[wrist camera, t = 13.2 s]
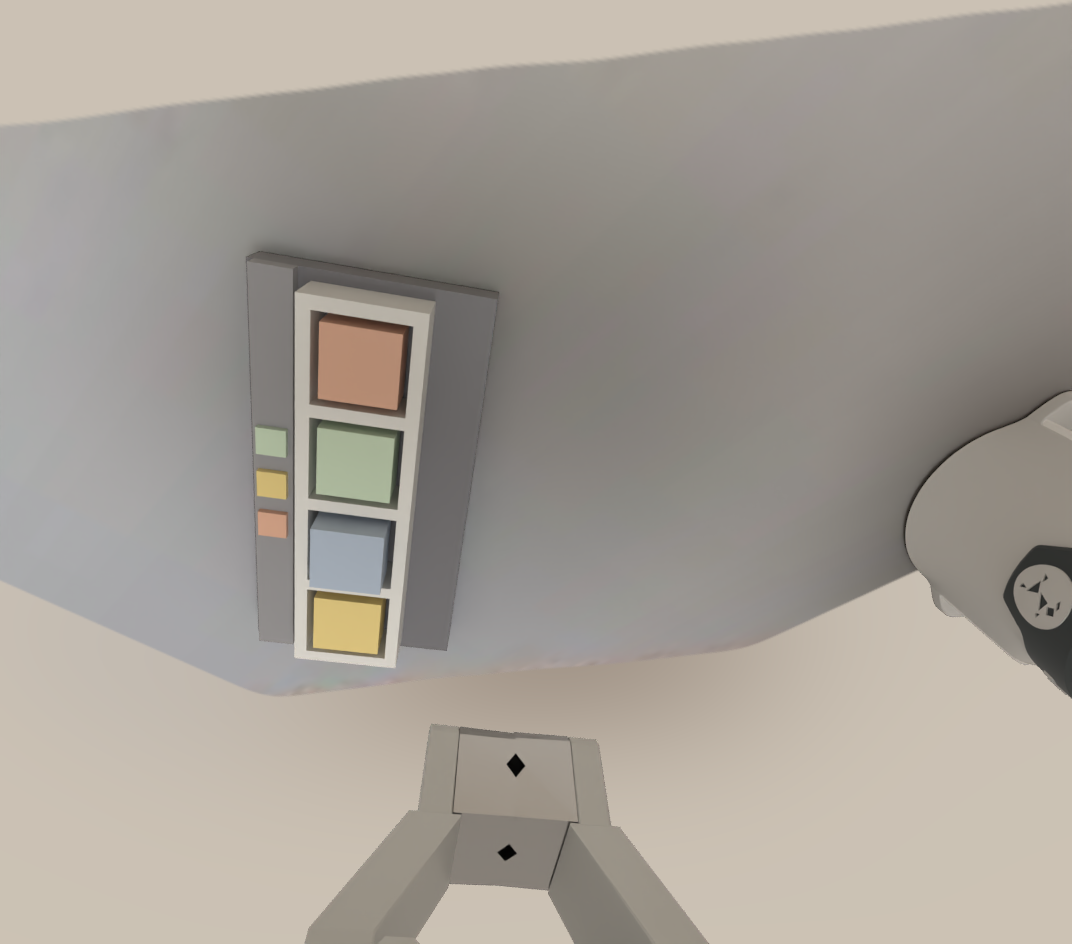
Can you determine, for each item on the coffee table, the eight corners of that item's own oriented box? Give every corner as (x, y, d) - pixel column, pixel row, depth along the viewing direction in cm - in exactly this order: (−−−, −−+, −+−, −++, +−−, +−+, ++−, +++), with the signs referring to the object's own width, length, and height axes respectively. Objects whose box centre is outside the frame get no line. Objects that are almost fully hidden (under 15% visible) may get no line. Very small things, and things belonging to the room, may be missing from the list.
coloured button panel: (498, 292, 38) (497, 312, 34) (449, 632, 50) (443, 680, 46) (259, 251, 37) (224, 266, 32) (267, 612, 49) (243, 659, 44)
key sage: (401, 421, 39) (394, 438, 37) (396, 483, 41) (389, 503, 39) (328, 411, 38) (317, 427, 36) (326, 474, 40) (315, 493, 38)
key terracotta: (409, 323, 36) (402, 334, 34) (403, 394, 38) (396, 410, 36) (331, 310, 36) (319, 321, 33) (329, 383, 38) (317, 398, 35)
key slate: (391, 516, 41) (384, 538, 38) (386, 571, 43) (379, 595, 40) (321, 507, 40) (310, 528, 38) (320, 563, 42) (309, 586, 40)
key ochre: (387, 582, 44) (381, 605, 42) (383, 629, 46) (377, 654, 44) (323, 574, 44) (313, 597, 42) (322, 623, 46) (313, 647, 44)
